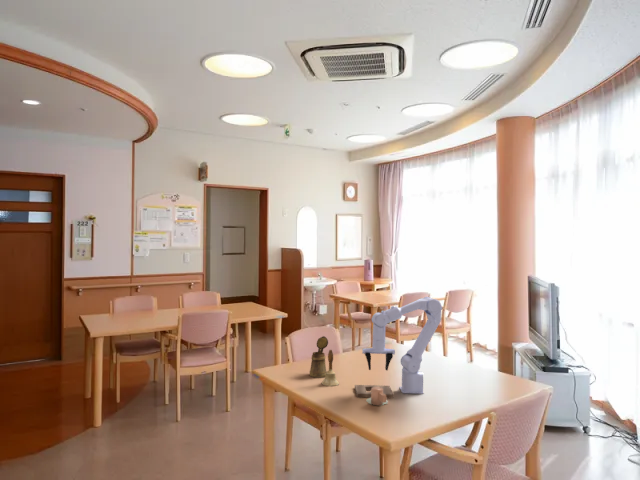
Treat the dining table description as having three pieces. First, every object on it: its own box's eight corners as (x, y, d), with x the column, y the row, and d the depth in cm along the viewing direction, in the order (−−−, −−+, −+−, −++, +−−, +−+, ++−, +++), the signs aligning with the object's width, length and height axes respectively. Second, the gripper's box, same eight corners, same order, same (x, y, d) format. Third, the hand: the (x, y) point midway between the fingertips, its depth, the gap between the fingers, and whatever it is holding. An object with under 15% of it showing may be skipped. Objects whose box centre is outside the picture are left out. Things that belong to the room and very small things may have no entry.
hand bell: (324, 386, 209) (325, 352, 209) (319, 381, 217) (320, 348, 217) (341, 385, 211) (342, 351, 211) (336, 380, 219) (337, 347, 219)
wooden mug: (331, 371, 234) (332, 336, 234) (324, 378, 221) (325, 342, 221) (315, 369, 236) (316, 335, 237) (306, 376, 223) (307, 340, 224)
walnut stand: (389, 388, 208) (389, 385, 208) (393, 397, 196) (393, 394, 196) (354, 388, 208) (354, 384, 208) (357, 397, 196) (357, 393, 196)
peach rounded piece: (368, 401, 190) (369, 387, 190) (379, 400, 191) (379, 386, 191) (378, 409, 181) (379, 394, 181) (389, 408, 183) (390, 393, 183)
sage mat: (385, 398, 196) (385, 397, 196) (389, 405, 187) (389, 405, 187) (365, 397, 195) (365, 396, 195) (367, 405, 186) (367, 404, 186)
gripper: (393, 338, 208) (392, 367, 208) (362, 337, 208) (361, 366, 208) (396, 341, 201) (395, 371, 201) (363, 340, 201) (362, 371, 201)
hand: (378, 369), depth 204 cm, fingers open, 7 cm apart
